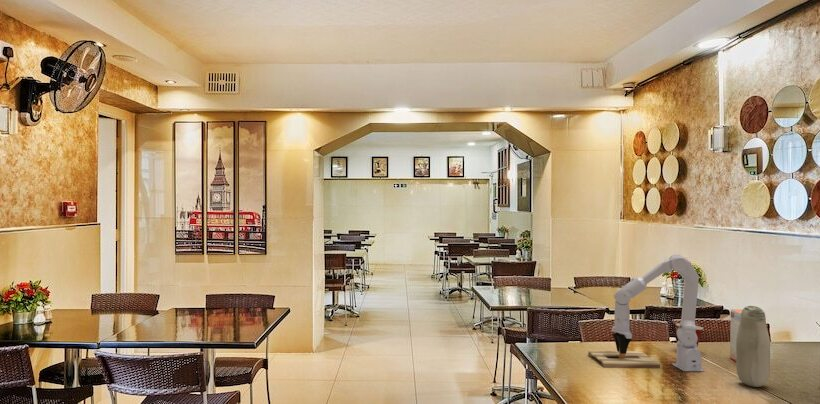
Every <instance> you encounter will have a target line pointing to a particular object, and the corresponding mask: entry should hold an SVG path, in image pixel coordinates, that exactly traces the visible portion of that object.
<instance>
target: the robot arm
mask: <svg viewBox="0 0 820 404" xmlns="http://www.w3.org/2000/svg"><path fill="white" fill-rule="evenodd" d="M673 271H675V272H676V273H678V274H679V276H680V277H682V278H683V279H684V282H683V284H684V285H683V295H682V297H683V298H682V309H681V319H680V322H679V323H680V326H679V328H678V329H677V328H676V337H677V338H678V340H677V341H676V358H675V359H676V363H673V362H672V363H671V365H672V366H674V367H675V368H677V369H679V370H681V371H683V372H704V369H702V360H703V359H702V352H700V350H699V349H698V347H697V344H696V343H697V340H698V337H697V335H696V326H697V325H696V315H697V313H696V312H697V302H698V293H699V292H698V291H699V290H698V289H699V279H700V278H699V274H698V273H697V271H696V269H695V268H694V266H693V264H692V262H691V261H689V259H687V258H686V257H684V256H682V255H680V254H673V255H671V256H670V257H668V258H666V259H664V260H663V261H661V262H660V263H658V264H657V265H655V266H654V267H653V268H652V269H650V270H649V271H648V272H646V273H645V274H644V275H643V276H641V277H639V276H637V277H636V276H635V278H634V277H632V278H630V281H629V282H628V283H626V284H624V285H622V286H621V288H619V289H617V290H616V291H615V292H614V295H613V298H614V299H615V301H614V321H613V323H614V325H612V328H611V332H613V333H611V336H612V337H613V339H614V344H615V347H616V351H618V352H619V348H620V353H621V354H626V352H627V351H628V347H629V344H630V343H631V341H632V339H633V334H632V332H631V330H630V315H631V314H630V311H631V310H630V302H631V300H632V299H634V298H635V297H637V296H638V295H639V294H641V293H642V292H644V291H645V290H647V284H649V283H650V282H652V281H653V280H655V279H656V278H659V277H660V276H661V275H663V274H665V273H666V274H667V273H673Z"/></svg>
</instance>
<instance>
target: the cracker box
mask: <svg viewBox="0 0 820 404" xmlns="http://www.w3.org/2000/svg"><path fill="white" fill-rule="evenodd" d="M742 310H743V309H737V308H736V309H734V308H732V309H730V331H729V332H730V334H729V335H730V339H729V351H730V352H729V358H730V359H731V360H733V361H734V362H735V363H736V338H737V333H738V329H739V325H740V318H741V312H742Z"/></svg>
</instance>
